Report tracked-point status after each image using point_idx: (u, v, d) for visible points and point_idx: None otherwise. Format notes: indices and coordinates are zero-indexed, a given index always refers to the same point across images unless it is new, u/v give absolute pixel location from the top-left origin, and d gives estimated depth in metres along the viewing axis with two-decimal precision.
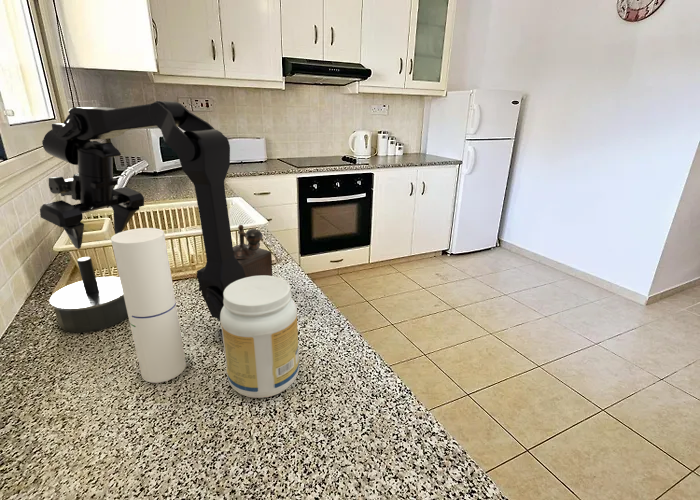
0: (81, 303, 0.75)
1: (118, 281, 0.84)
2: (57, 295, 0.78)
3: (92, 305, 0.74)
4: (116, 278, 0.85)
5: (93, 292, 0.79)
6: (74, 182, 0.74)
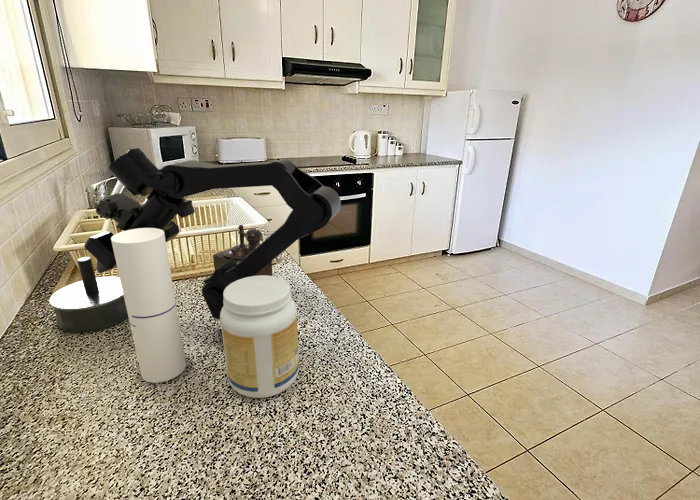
0: (81, 303, 0.75)
1: (118, 281, 0.84)
2: (57, 295, 0.78)
3: (92, 305, 0.74)
4: (116, 278, 0.85)
5: (93, 292, 0.79)
6: (129, 215, 0.68)
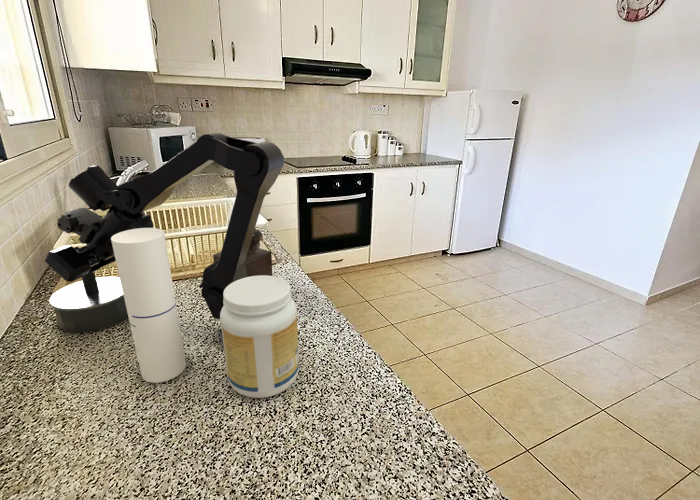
0: (81, 303, 0.75)
1: (118, 281, 0.84)
2: (57, 295, 0.78)
3: (92, 305, 0.74)
4: (116, 278, 0.85)
5: (93, 292, 0.79)
6: (90, 229, 0.71)
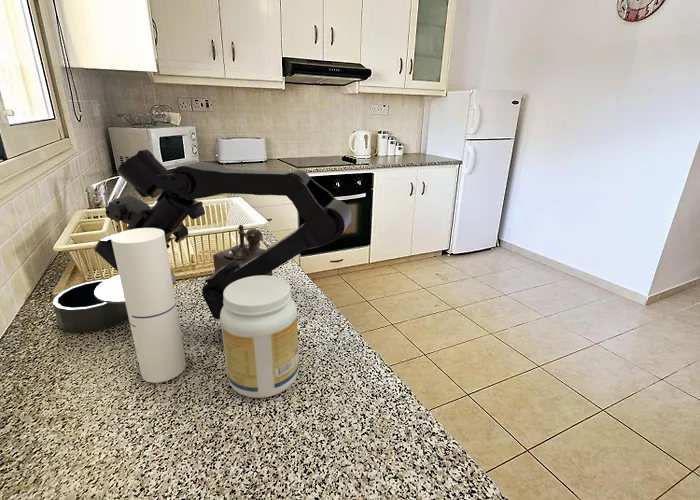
0: None
1: None
2: (101, 288, 0.74)
3: None
4: None
5: None
6: (139, 217, 0.67)
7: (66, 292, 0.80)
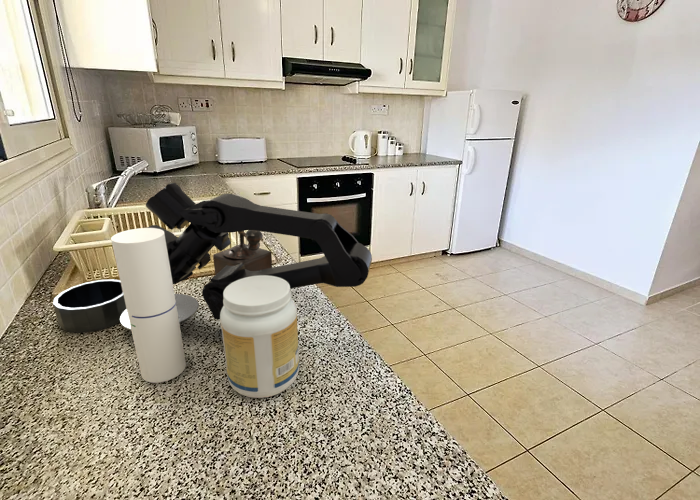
0: None
1: (183, 299, 0.82)
2: (126, 315, 0.75)
3: None
4: (180, 295, 0.83)
5: None
6: None
7: (66, 292, 0.80)
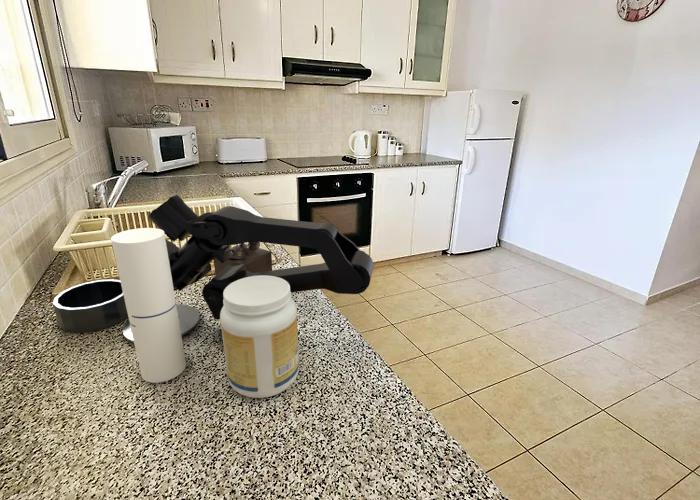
0: None
1: (185, 309, 0.83)
2: (128, 326, 0.76)
3: None
4: (182, 306, 0.84)
5: None
6: None
7: (66, 292, 0.80)
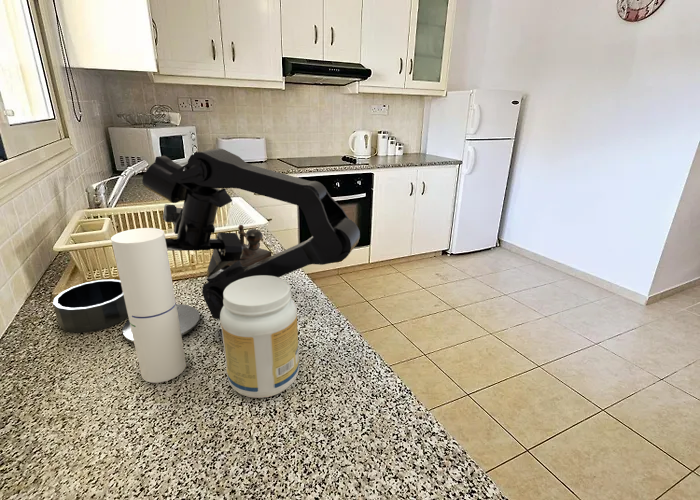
0: None
1: (185, 309, 0.83)
2: (128, 326, 0.76)
3: None
4: (182, 306, 0.84)
5: None
6: (179, 216, 0.70)
7: (66, 292, 0.80)
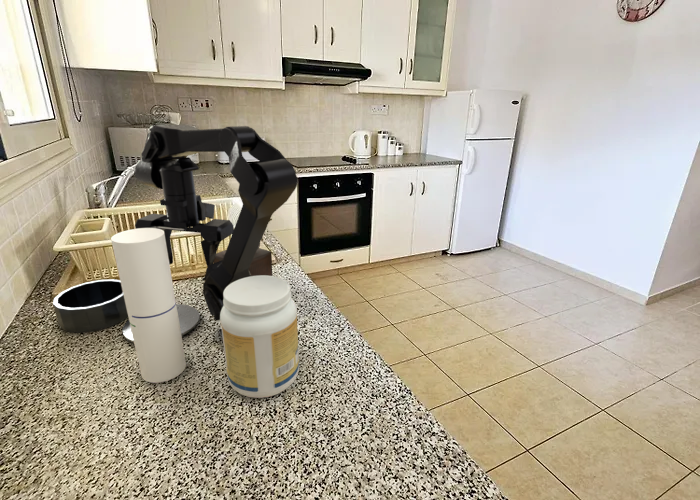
0: None
1: (185, 309, 0.83)
2: (128, 326, 0.76)
3: None
4: (182, 306, 0.84)
5: None
6: None
7: (66, 292, 0.80)
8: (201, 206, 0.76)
